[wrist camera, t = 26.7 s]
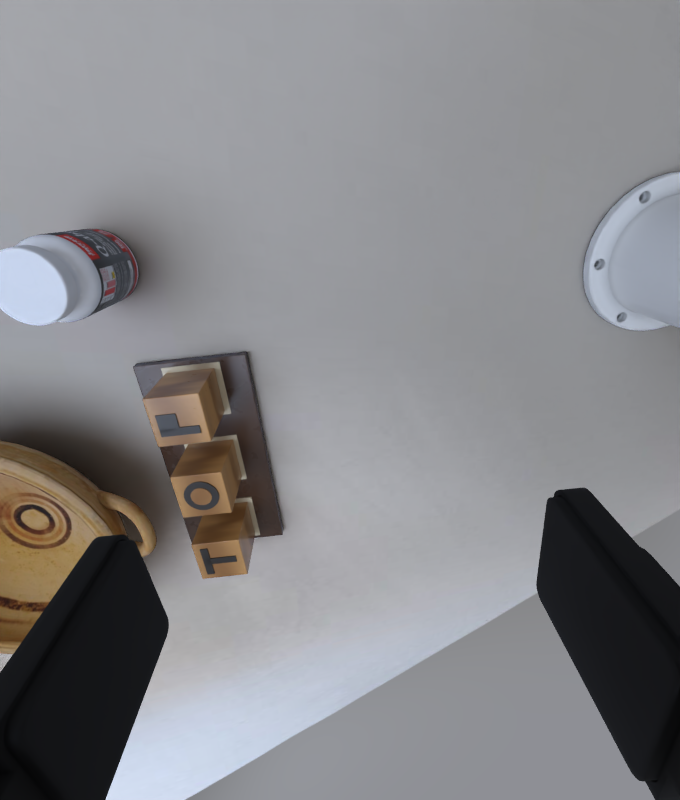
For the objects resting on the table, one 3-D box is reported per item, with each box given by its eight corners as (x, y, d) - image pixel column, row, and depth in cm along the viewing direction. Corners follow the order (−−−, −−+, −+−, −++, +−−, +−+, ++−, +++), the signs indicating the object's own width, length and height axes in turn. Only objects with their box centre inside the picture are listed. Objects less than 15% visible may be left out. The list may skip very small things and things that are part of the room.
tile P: (214, 367, 37) (198, 393, 32) (225, 411, 39) (211, 442, 34) (165, 372, 37) (141, 399, 32) (178, 416, 39) (157, 448, 34)
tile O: (233, 439, 40) (220, 473, 35) (242, 476, 42) (231, 514, 37) (187, 443, 40) (169, 478, 35) (198, 481, 42) (182, 519, 37)
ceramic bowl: (-35, 607, 50) (-96, 676, 42) (-177, 431, 39) (-289, 483, 32) (209, 568, 49) (190, 632, 41) (131, 377, 38) (87, 418, 31)
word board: (246, 351, 38) (245, 354, 37) (283, 529, 47) (282, 535, 46) (136, 363, 38) (132, 367, 37) (194, 539, 47) (192, 545, 46)
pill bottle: (138, 234, 33) (71, 245, 24) (142, 305, 36) (83, 340, 27) (62, 223, 33) (-36, 231, 24) (71, 296, 35) (-14, 328, 26)
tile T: (247, 501, 44) (238, 540, 39) (255, 533, 46) (247, 574, 41) (205, 506, 44) (190, 545, 39) (215, 538, 46) (202, 579, 41)
